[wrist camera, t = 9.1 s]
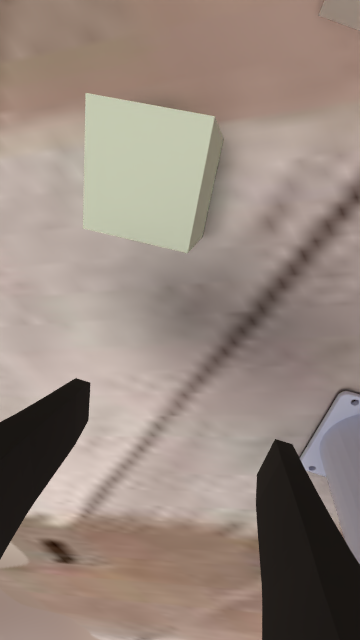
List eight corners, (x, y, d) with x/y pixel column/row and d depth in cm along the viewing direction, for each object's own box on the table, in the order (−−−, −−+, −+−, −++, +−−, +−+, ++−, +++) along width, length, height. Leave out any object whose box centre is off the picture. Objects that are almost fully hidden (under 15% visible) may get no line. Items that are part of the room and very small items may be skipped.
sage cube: (223, 139, 14) (214, 116, 10) (202, 236, 17) (187, 253, 12) (133, 122, 15) (85, 93, 10) (124, 219, 17) (83, 228, 13)
